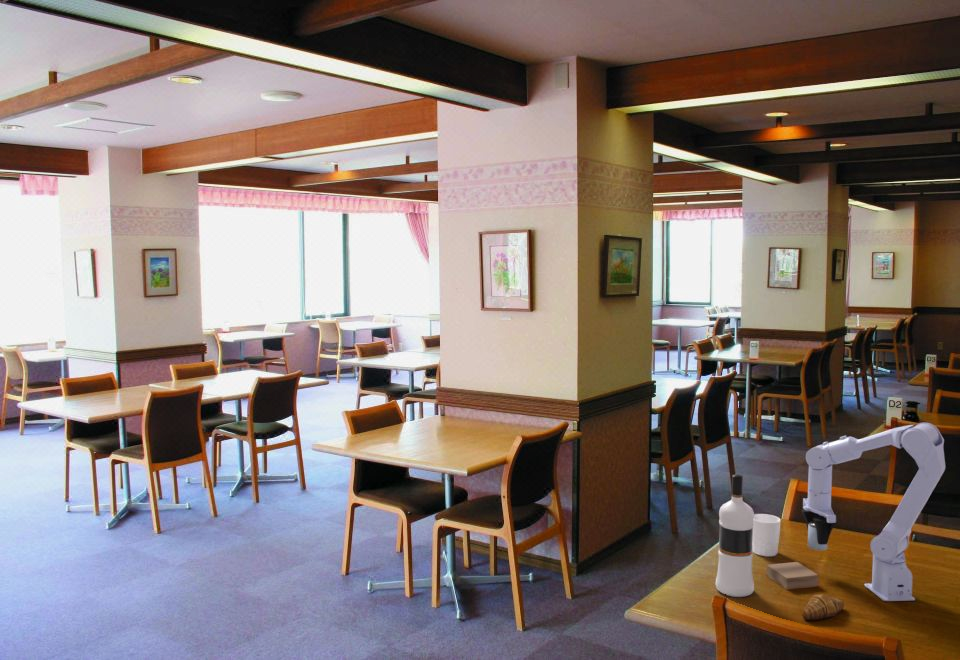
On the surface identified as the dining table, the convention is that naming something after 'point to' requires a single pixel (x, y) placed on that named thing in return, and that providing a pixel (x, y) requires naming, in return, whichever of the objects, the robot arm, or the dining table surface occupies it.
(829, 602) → the croissant
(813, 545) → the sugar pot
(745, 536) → the vodka
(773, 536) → the white cup
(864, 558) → the dining table surface
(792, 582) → the walnut box
